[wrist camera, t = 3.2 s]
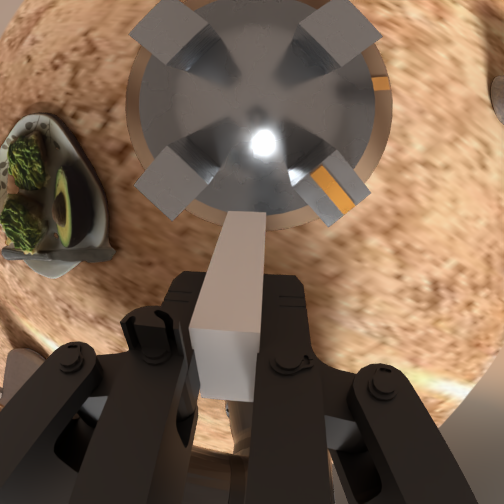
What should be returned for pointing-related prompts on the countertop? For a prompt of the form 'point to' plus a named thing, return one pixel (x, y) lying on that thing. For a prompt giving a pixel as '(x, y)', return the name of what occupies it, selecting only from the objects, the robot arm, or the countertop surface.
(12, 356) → the coffee pot
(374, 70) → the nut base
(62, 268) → the salad plate
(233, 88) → the four-tab metal disc
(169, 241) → the countertop surface
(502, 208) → the countertop surface
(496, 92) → the pipe
